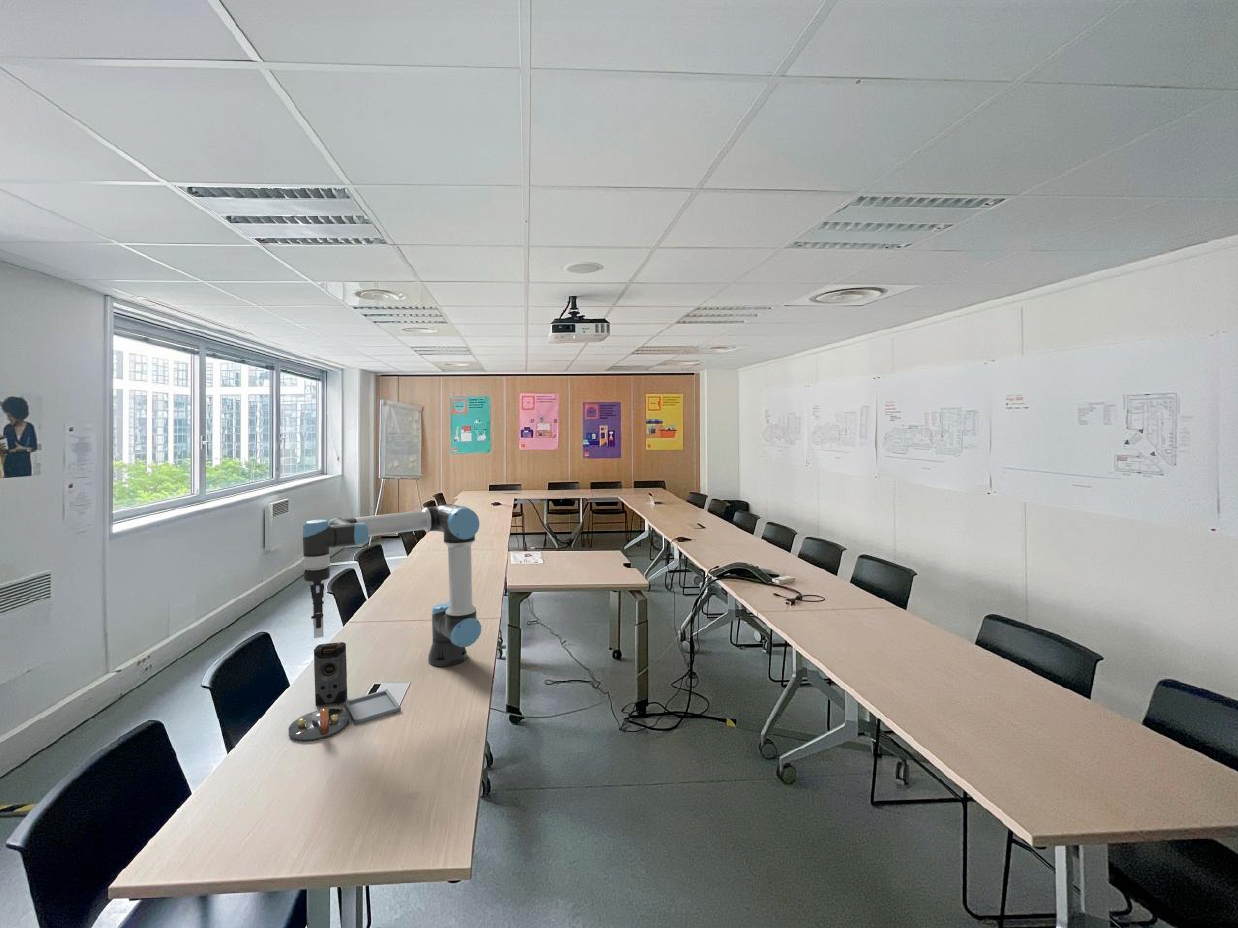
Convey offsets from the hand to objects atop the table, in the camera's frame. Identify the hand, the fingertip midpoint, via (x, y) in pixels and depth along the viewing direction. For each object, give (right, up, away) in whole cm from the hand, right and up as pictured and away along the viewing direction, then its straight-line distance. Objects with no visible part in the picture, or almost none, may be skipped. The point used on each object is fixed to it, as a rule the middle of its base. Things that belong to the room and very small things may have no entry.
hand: (318, 630), depth 180 cm
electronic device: (+1, -27, +7) cm, 28 cm away
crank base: (+5, -28, -8) cm, 30 cm away
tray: (+17, -27, +3) cm, 32 cm away
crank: (+7, -26, -11) cm, 29 cm away
